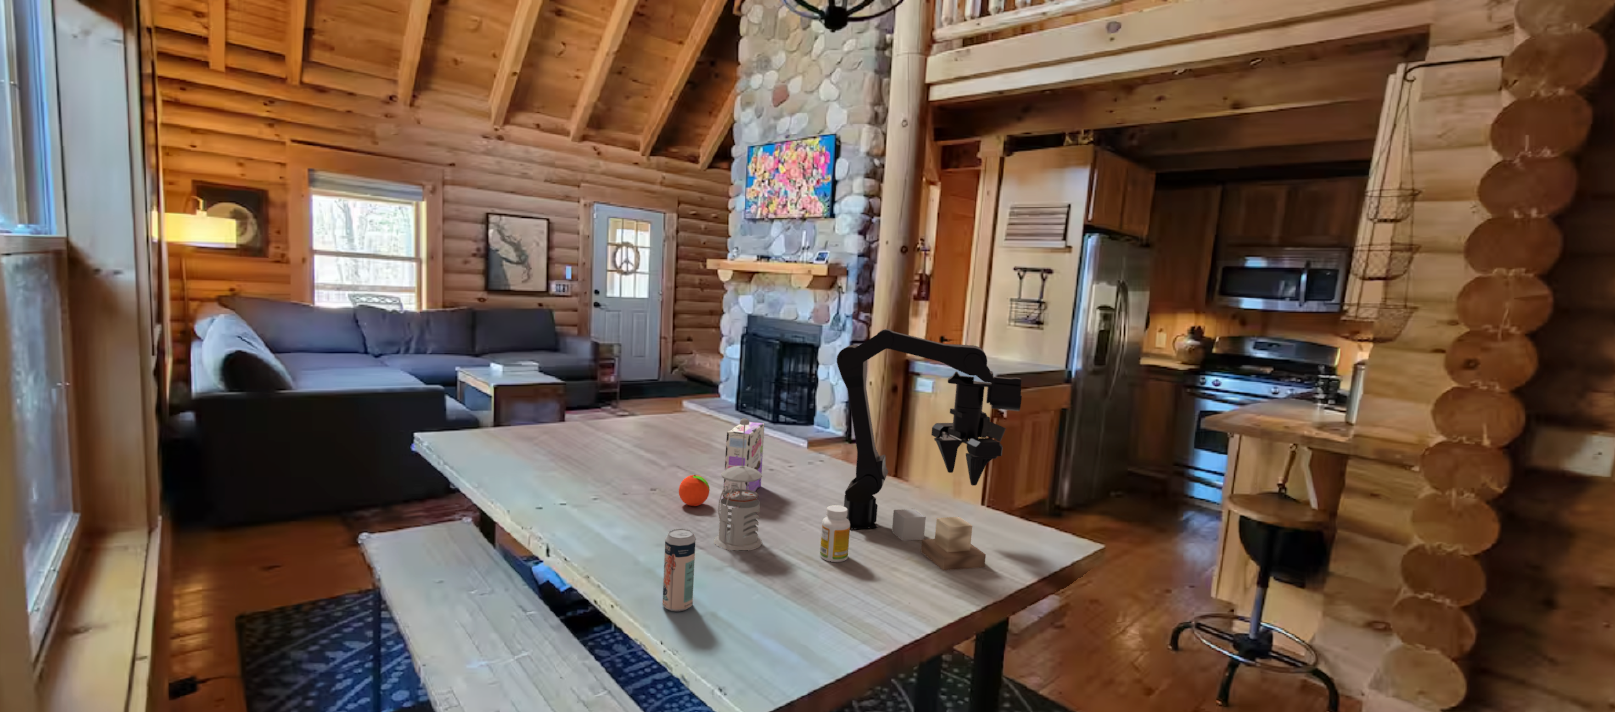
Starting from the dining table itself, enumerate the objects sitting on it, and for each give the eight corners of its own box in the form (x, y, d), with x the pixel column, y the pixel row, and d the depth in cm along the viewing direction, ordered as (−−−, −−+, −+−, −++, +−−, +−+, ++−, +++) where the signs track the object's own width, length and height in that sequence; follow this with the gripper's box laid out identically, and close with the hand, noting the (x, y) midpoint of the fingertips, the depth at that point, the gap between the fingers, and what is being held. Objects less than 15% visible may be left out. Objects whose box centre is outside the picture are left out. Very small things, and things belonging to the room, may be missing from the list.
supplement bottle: (850, 554, 136) (854, 506, 134) (843, 564, 130) (847, 514, 129) (824, 549, 137) (828, 501, 136) (816, 559, 132) (819, 509, 131)
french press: (771, 539, 141) (778, 418, 138) (742, 558, 130) (749, 427, 128) (729, 529, 145) (736, 411, 142) (698, 546, 134) (704, 420, 132)
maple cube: (947, 552, 133) (949, 527, 133) (934, 542, 138) (936, 518, 138) (970, 550, 135) (972, 525, 135) (956, 540, 140) (958, 516, 139)
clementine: (718, 506, 159) (720, 475, 158) (698, 513, 153) (699, 482, 152) (692, 498, 163) (693, 468, 162) (671, 505, 157) (672, 474, 156)
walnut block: (943, 572, 131) (944, 557, 131) (920, 553, 140) (921, 539, 139) (984, 569, 134) (985, 554, 134) (959, 551, 142) (961, 536, 142)
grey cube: (902, 541, 145) (904, 517, 144) (891, 532, 150) (893, 509, 149) (923, 539, 146) (925, 516, 146) (912, 531, 151) (914, 508, 151)
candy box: (746, 502, 162) (750, 433, 161) (722, 499, 164) (725, 430, 162) (761, 486, 176) (765, 422, 174) (739, 483, 177) (743, 419, 175)
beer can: (664, 598, 112) (667, 527, 111) (694, 599, 113) (697, 528, 111) (660, 613, 108) (663, 538, 106) (691, 613, 108) (694, 539, 107)
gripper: (1028, 415, 139) (1020, 490, 141) (976, 398, 157) (970, 465, 158) (980, 415, 136) (973, 493, 137) (933, 397, 153) (927, 466, 155)
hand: (961, 478), depth 147 cm, fingers open, 9 cm apart
